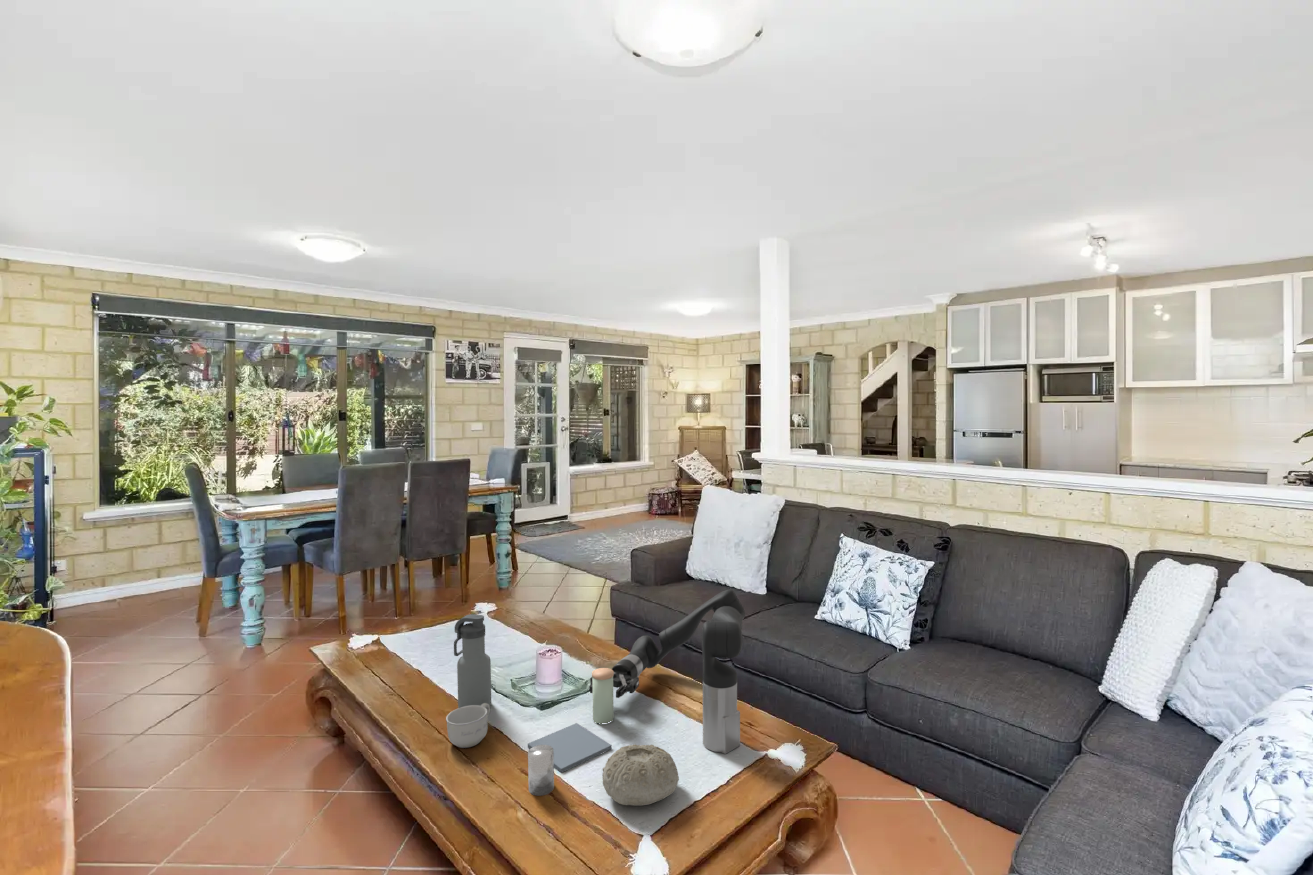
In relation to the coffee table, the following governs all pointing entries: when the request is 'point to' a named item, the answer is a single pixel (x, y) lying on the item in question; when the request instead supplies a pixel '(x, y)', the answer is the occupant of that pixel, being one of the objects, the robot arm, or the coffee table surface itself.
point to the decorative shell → (640, 775)
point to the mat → (572, 746)
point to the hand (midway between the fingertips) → (603, 692)
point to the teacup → (468, 725)
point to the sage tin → (603, 695)
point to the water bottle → (472, 662)
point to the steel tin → (541, 770)
